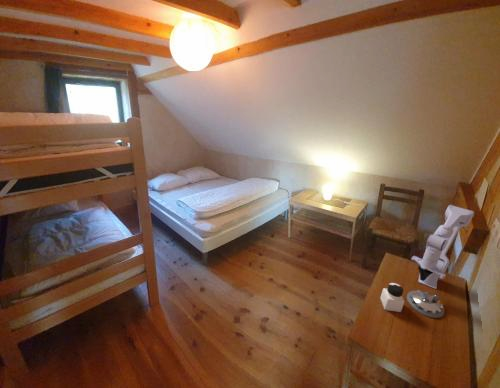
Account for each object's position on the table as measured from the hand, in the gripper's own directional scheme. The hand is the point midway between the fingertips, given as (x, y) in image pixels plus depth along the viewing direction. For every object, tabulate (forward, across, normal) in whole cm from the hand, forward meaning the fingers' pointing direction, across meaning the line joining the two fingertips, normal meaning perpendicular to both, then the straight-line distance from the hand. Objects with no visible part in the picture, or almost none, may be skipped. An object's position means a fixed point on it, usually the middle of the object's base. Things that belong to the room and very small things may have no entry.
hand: (422, 279), depth 114 cm
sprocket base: (+9, +6, -3) cm, 12 cm away
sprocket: (+8, +6, -3) cm, 11 cm away
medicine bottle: (+10, 0, -19) cm, 22 cm away
